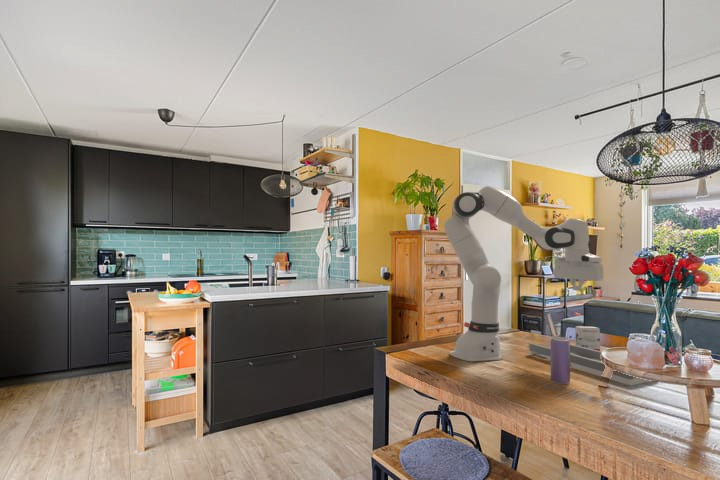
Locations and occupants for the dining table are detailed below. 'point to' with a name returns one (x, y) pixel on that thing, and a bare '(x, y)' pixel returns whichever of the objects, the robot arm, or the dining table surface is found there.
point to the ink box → (588, 337)
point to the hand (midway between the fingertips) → (577, 290)
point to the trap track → (585, 362)
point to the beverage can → (560, 360)
